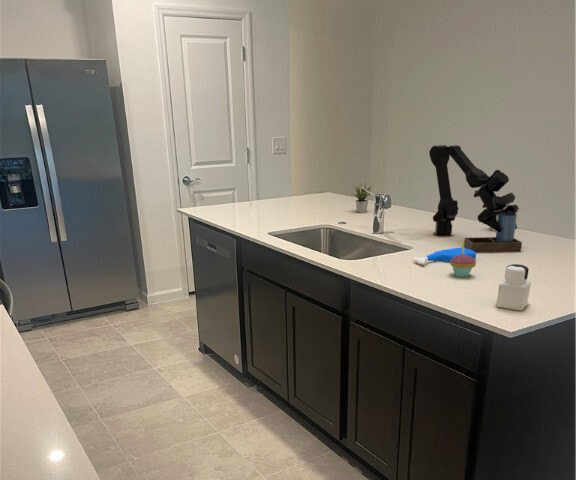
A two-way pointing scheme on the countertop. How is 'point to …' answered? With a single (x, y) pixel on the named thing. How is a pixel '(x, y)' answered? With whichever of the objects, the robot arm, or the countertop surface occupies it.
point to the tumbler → (506, 227)
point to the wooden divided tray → (491, 245)
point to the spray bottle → (444, 255)
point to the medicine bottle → (514, 288)
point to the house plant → (361, 199)
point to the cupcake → (462, 264)
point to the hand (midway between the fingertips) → (508, 230)
